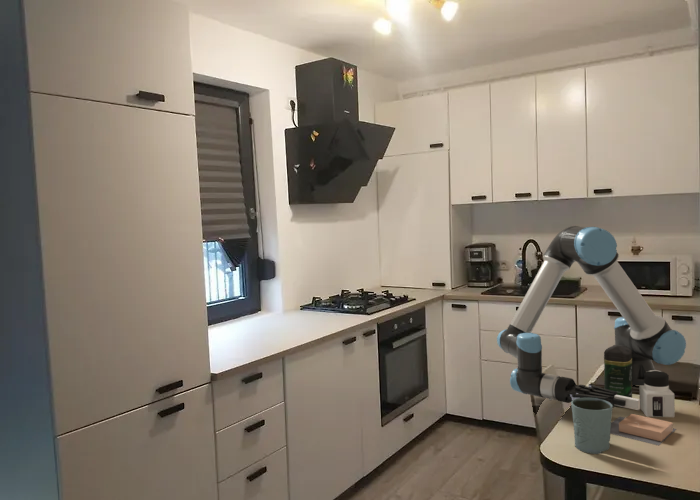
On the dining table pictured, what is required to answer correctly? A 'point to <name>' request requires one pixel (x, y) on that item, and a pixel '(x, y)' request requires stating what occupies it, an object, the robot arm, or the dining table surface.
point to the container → (656, 395)
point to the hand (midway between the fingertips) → (638, 404)
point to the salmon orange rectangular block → (646, 427)
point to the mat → (615, 431)
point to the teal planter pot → (592, 424)
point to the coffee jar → (618, 370)
